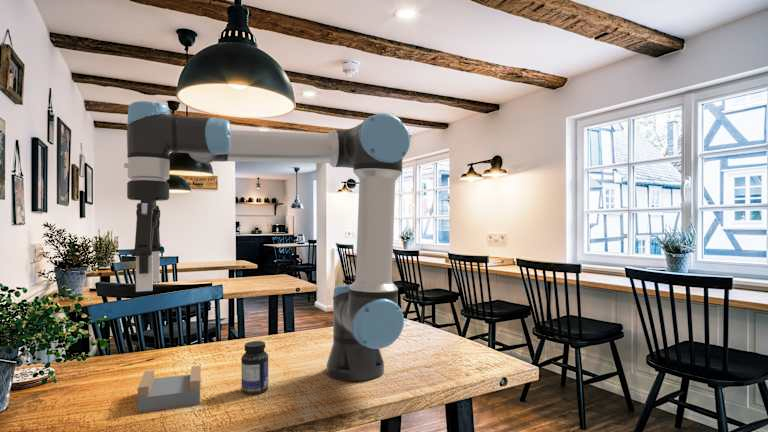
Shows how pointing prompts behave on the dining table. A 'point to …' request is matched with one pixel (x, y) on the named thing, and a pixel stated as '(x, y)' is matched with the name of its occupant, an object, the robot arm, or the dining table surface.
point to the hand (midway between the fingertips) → (148, 286)
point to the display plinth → (169, 391)
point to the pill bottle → (254, 368)
